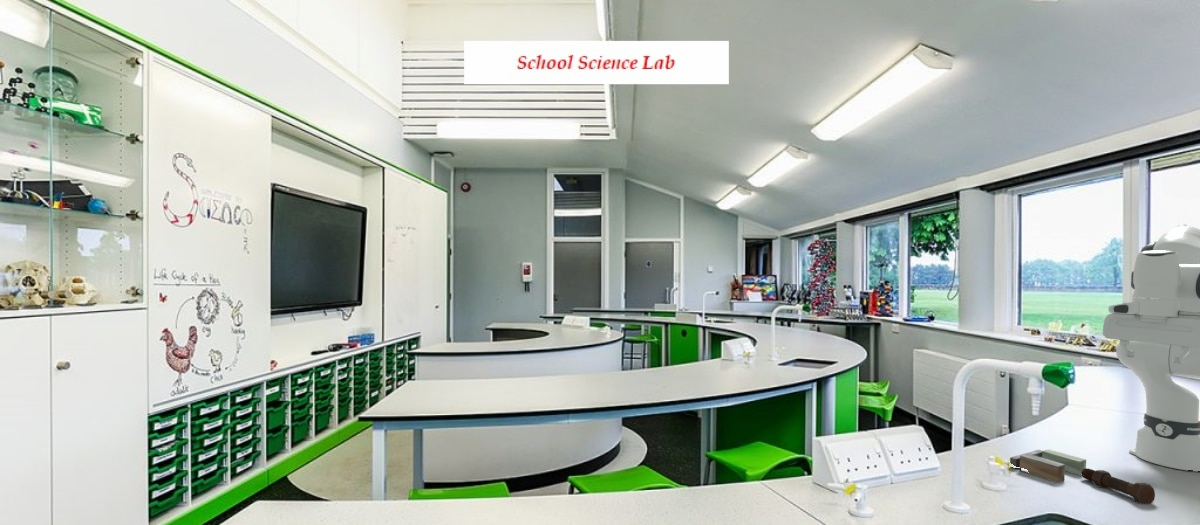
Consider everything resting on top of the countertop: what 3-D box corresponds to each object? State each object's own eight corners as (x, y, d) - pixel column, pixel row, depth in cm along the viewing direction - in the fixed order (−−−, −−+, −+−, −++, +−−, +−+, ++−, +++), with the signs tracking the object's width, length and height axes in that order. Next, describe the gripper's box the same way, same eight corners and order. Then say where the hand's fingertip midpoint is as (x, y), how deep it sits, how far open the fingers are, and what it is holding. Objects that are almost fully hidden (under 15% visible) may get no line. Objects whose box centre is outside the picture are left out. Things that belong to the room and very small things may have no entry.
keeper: (1038, 459, 161) (1039, 444, 161) (1085, 473, 151) (1086, 457, 151) (1009, 467, 154) (1010, 452, 154) (1057, 482, 143) (1057, 466, 143)
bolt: (1087, 486, 146) (1149, 509, 132) (1073, 477, 146) (1134, 500, 131) (1096, 468, 147) (1159, 489, 132) (1082, 459, 146) (1144, 480, 132)
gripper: (1217, 313, 131) (1215, 366, 131) (1109, 306, 149) (1108, 353, 149) (1210, 313, 128) (1208, 368, 128) (1101, 306, 146) (1099, 354, 146)
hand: (1153, 360), depth 139 cm, fingers open, 8 cm apart
